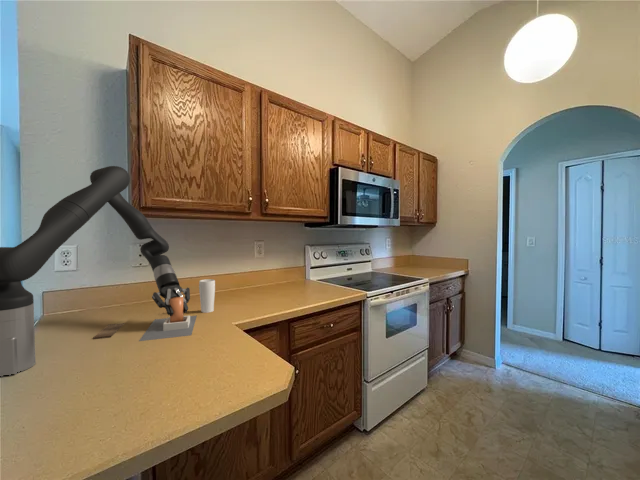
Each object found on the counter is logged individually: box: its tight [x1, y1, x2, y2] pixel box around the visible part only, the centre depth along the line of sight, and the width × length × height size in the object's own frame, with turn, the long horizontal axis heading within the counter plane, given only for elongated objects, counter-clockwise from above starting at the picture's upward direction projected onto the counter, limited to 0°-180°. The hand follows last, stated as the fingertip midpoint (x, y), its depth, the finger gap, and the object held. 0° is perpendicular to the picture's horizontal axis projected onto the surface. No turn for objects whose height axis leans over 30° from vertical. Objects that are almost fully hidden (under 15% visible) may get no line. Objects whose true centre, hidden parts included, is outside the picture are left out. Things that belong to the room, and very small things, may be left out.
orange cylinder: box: [169, 296, 185, 323], centre depth 107 cm, size 5×5×10 cm
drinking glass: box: [198, 278, 216, 314], centre depth 128 cm, size 7×7×15 cm
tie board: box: [138, 315, 197, 342], centre depth 107 cm, size 24×16×4 cm, turn 20°
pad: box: [93, 322, 126, 340], centre depth 106 cm, size 14×14×1 cm
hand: (179, 313), depth 106 cm, fingers closed on orange cylinder, 4 cm apart
